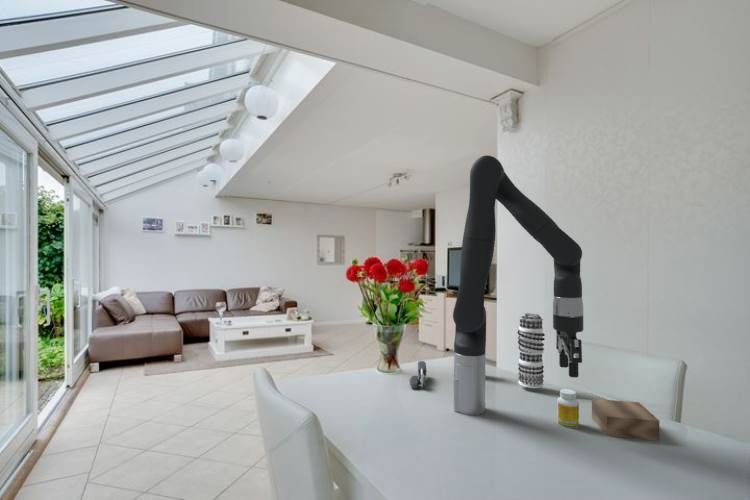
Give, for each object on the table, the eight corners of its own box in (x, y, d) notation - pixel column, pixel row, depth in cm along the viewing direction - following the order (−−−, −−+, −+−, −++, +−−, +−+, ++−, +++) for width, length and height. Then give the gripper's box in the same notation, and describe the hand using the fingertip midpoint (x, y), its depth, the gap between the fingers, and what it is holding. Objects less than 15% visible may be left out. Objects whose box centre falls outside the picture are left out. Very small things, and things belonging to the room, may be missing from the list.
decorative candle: (516, 386, 139) (516, 315, 139) (517, 378, 148) (517, 311, 148) (544, 390, 136) (545, 317, 136) (544, 381, 145) (544, 313, 144)
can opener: (427, 389, 137) (427, 375, 137) (408, 388, 138) (408, 374, 138) (429, 372, 156) (429, 359, 156) (412, 371, 157) (412, 358, 157)
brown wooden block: (606, 439, 102) (606, 416, 102) (591, 419, 114) (591, 398, 114) (659, 444, 99) (659, 420, 99) (638, 423, 111) (638, 402, 111)
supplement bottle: (554, 420, 112) (555, 387, 112) (575, 422, 111) (575, 388, 111) (560, 429, 107) (560, 394, 107) (581, 431, 106) (581, 395, 106)
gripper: (546, 308, 116) (547, 363, 116) (560, 317, 102) (561, 380, 102) (574, 309, 115) (574, 364, 115) (592, 317, 101) (593, 381, 101)
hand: (568, 371), depth 109 cm, fingers open, 8 cm apart
